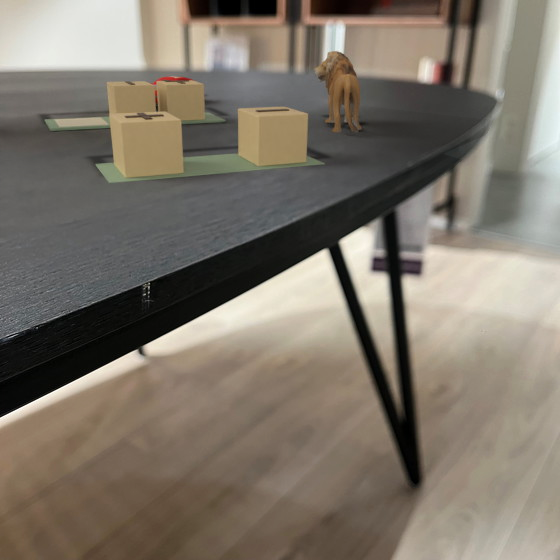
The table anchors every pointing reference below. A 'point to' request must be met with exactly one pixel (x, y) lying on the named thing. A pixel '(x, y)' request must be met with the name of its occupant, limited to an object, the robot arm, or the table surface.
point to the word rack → (147, 104)
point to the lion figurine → (340, 90)
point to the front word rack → (170, 162)
